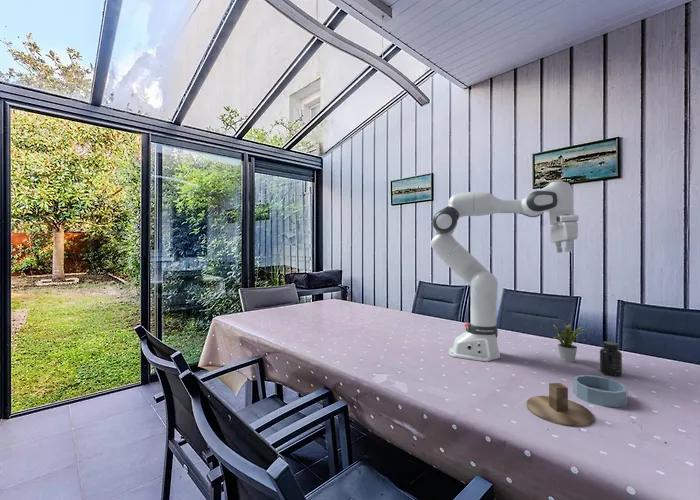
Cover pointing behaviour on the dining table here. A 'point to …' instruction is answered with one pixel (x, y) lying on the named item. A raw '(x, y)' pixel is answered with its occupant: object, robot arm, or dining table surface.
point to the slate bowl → (600, 391)
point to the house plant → (567, 343)
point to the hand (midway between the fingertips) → (563, 252)
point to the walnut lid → (559, 407)
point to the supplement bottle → (611, 359)
